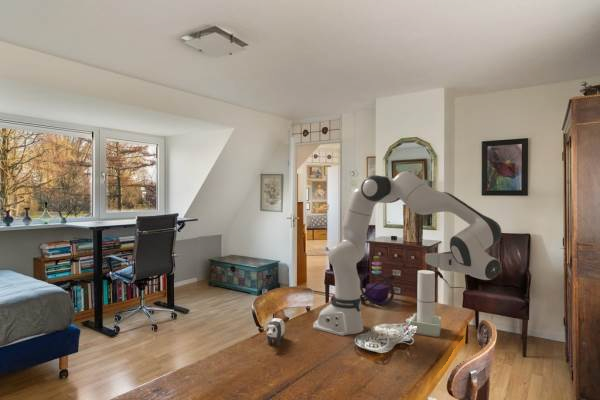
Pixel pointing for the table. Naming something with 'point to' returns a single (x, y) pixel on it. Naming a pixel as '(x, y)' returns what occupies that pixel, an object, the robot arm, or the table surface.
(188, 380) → the table surface
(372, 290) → the decorative bottle
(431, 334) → the box
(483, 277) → the robot arm
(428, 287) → the cylindrical container
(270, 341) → the giant panda
